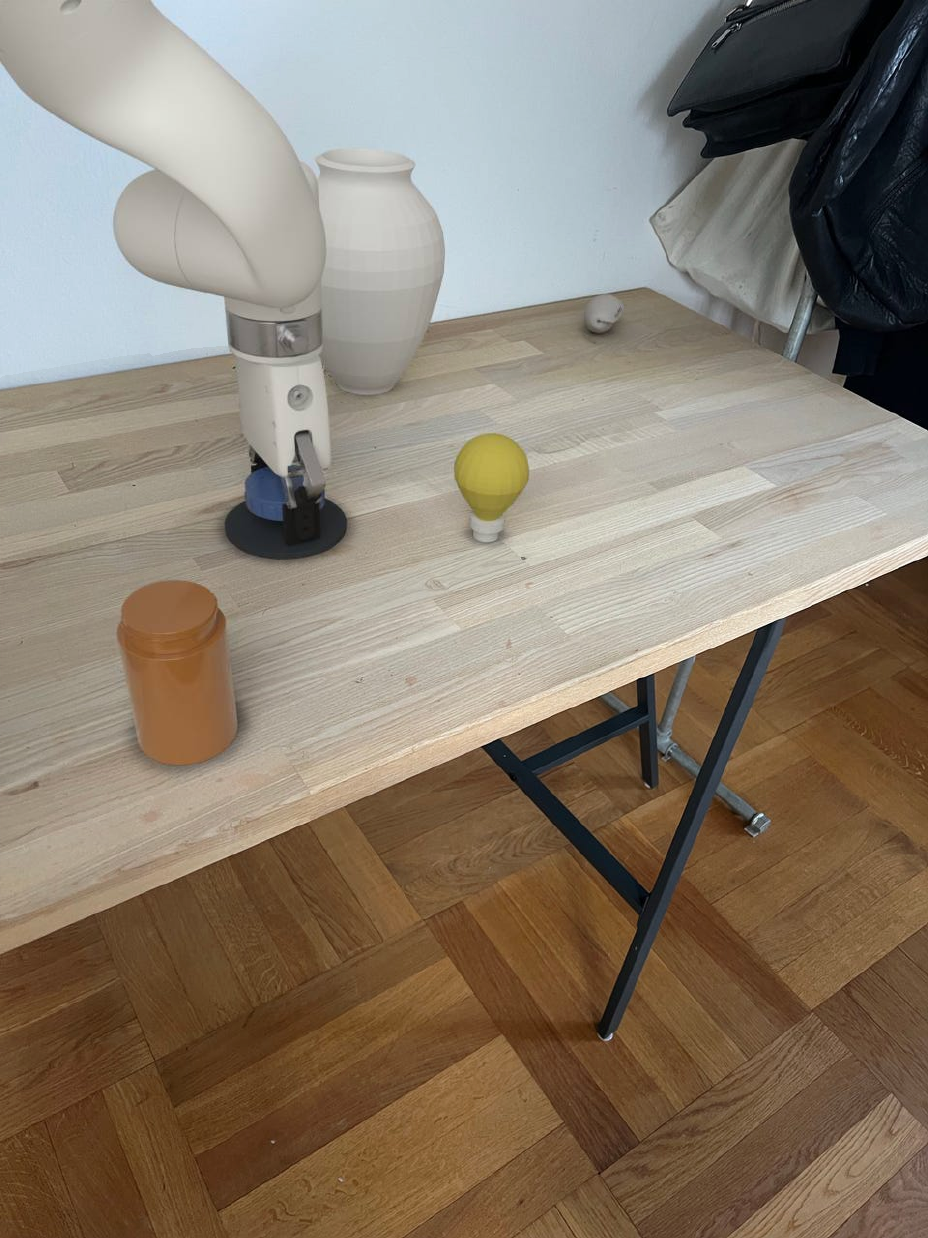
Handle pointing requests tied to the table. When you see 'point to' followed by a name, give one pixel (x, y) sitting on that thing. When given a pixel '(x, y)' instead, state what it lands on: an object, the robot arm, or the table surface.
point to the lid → (270, 493)
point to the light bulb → (490, 481)
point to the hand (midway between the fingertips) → (286, 519)
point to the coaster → (282, 533)
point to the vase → (375, 267)
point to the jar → (178, 672)
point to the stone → (602, 313)
